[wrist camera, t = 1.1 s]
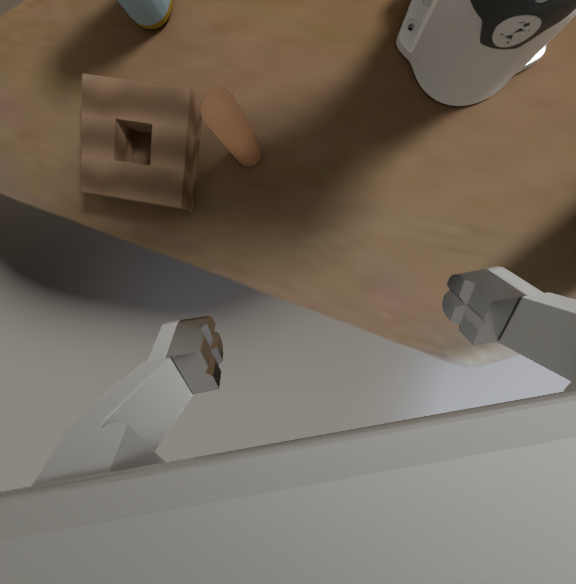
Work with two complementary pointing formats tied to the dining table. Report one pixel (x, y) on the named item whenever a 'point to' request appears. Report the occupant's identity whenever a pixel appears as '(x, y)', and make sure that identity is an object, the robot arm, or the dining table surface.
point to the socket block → (120, 141)
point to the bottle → (148, 12)
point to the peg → (230, 126)
